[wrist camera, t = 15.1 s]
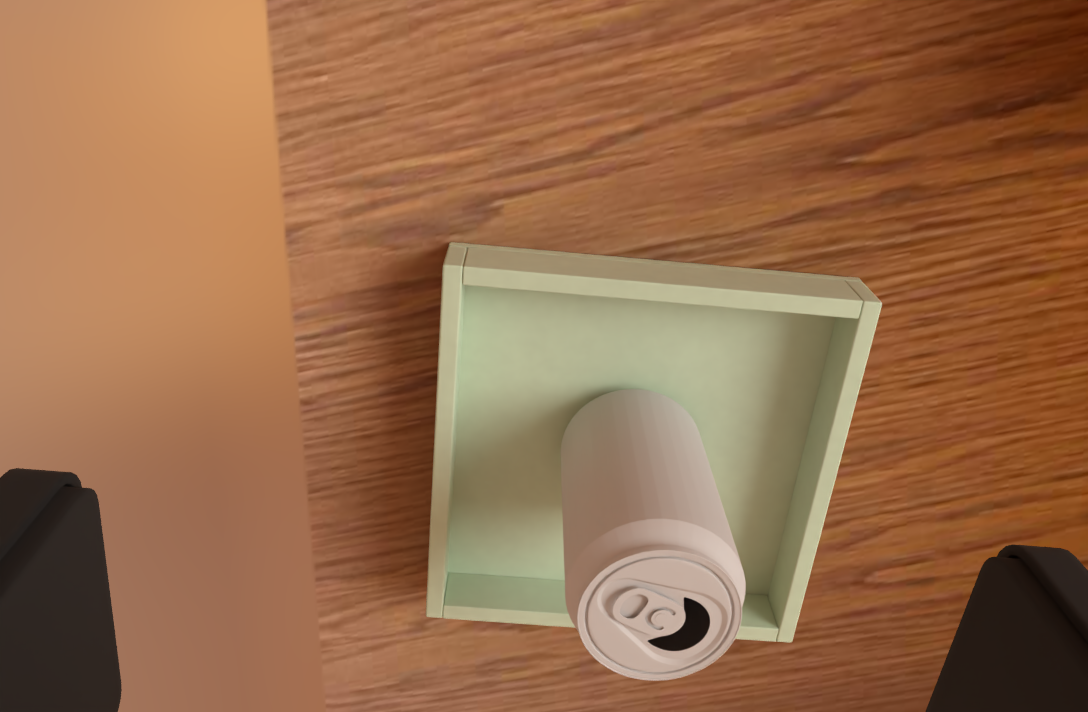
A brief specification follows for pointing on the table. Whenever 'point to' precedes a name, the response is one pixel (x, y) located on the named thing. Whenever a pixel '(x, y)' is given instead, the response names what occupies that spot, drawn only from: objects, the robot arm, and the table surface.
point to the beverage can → (646, 539)
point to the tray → (634, 363)
